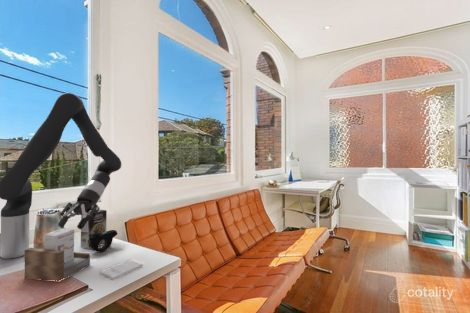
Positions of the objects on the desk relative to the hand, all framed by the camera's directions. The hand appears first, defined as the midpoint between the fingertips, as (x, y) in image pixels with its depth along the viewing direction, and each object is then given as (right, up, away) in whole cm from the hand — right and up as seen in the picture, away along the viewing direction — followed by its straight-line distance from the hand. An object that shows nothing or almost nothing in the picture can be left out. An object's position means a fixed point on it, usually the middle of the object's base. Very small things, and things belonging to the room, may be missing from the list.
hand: (69, 227), depth 99 cm
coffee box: (-3, -15, +22) cm, 27 cm away
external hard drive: (+21, -16, -3) cm, 27 cm away
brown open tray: (-1, -15, -4) cm, 16 cm away
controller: (+5, -15, +16) cm, 22 cm away
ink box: (-1, -12, -4) cm, 13 cm away
